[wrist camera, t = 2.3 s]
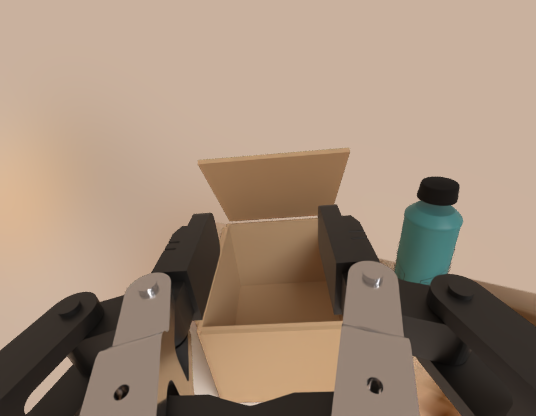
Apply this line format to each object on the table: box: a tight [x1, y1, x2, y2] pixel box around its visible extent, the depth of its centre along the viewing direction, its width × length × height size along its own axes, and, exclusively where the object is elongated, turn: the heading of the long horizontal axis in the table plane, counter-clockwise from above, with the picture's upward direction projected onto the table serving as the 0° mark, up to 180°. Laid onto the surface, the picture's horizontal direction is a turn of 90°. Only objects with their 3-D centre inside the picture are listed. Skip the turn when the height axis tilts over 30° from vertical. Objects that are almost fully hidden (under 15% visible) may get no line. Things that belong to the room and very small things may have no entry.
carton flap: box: [198, 148, 350, 221], centre depth 33 cm, size 15×15×1 cm
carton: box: [195, 218, 343, 403], centre depth 35 cm, size 17×18×13 cm
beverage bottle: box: [393, 177, 463, 285], centre depth 36 cm, size 6×7×20 cm
